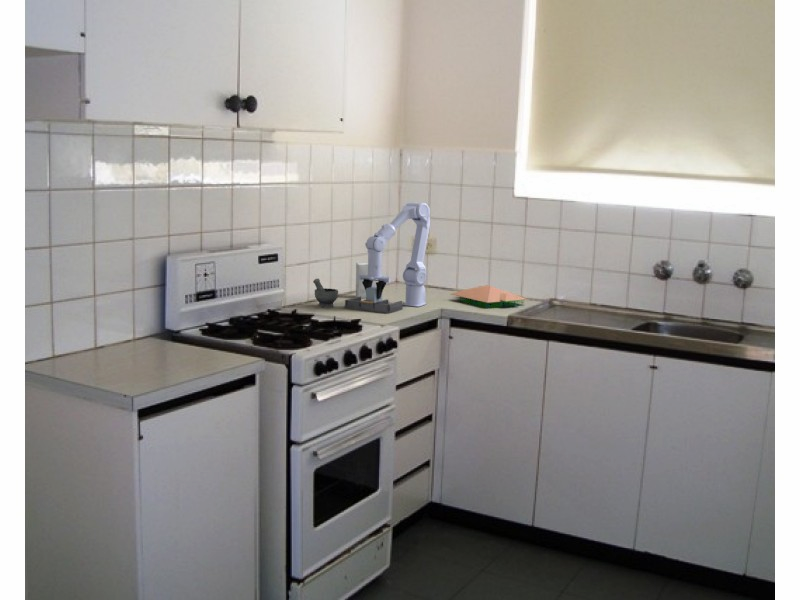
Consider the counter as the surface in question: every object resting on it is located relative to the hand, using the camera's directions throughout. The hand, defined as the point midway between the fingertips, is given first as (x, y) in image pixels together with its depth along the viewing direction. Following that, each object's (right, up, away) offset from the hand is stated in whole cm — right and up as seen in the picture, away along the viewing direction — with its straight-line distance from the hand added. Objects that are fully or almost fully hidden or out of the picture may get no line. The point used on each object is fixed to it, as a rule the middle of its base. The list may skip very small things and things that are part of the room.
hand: (373, 298), depth 351 cm
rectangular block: (0, -2, 0) cm, 2 cm away
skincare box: (-5, 0, +31) cm, 31 cm away
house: (+50, -3, +28) cm, 57 cm away
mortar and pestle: (-21, -4, +3) cm, 21 cm away
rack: (0, -4, +1) cm, 4 cm away
